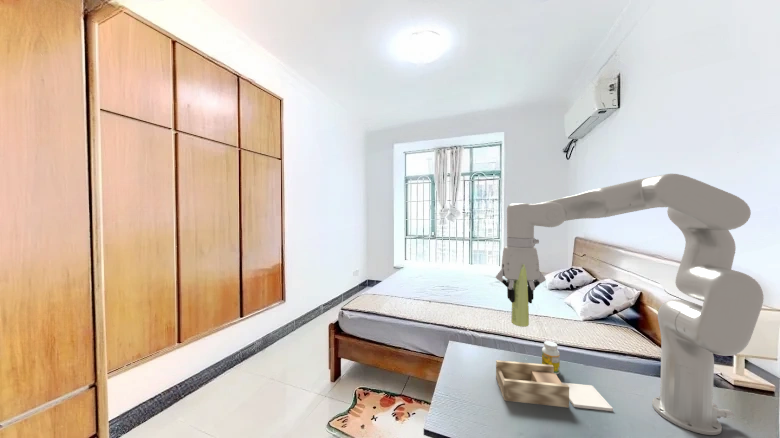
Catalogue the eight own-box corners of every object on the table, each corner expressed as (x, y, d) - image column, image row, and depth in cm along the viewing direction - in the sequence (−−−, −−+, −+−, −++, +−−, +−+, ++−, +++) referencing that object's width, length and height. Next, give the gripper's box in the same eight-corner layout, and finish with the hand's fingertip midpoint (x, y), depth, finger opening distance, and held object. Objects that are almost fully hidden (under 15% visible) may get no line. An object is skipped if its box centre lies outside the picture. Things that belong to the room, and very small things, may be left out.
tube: (534, 325, 81) (534, 262, 81) (525, 329, 79) (524, 264, 78) (516, 319, 86) (516, 259, 86) (507, 323, 83) (507, 261, 83)
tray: (552, 383, 86) (552, 365, 86) (569, 407, 76) (569, 387, 75) (495, 377, 89) (496, 360, 89) (504, 400, 78) (504, 380, 78)
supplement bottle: (563, 374, 91) (563, 347, 91) (547, 375, 91) (548, 347, 90) (552, 365, 96) (553, 339, 96) (538, 366, 96) (538, 340, 96)
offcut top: (555, 380, 84) (555, 373, 84) (563, 394, 78) (563, 386, 78) (531, 378, 86) (531, 370, 86) (537, 391, 80) (537, 383, 79)
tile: (592, 387, 84) (592, 385, 84) (612, 411, 74) (613, 408, 74) (557, 384, 86) (557, 382, 86) (573, 406, 76) (573, 404, 76)
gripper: (544, 241, 84) (544, 298, 84) (489, 241, 87) (489, 296, 87) (555, 244, 77) (555, 307, 77) (494, 244, 79) (494, 304, 80)
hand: (520, 300), depth 82 cm, fingers closed on tube, 4 cm apart
